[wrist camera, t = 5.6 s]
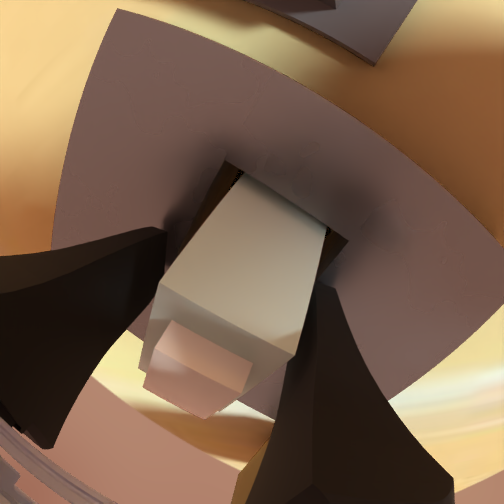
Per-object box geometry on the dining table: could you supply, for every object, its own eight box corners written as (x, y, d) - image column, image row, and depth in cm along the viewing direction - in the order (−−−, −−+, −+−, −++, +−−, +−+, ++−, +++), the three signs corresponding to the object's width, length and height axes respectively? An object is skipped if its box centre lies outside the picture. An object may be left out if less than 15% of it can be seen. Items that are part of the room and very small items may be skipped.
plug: (331, 205, 10) (284, 390, 5) (269, 288, 14) (210, 431, 9) (253, 161, 10) (137, 311, 5) (209, 255, 14) (126, 387, 9)
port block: (496, 240, 10) (531, 281, 7) (327, 397, 16) (319, 445, 13) (163, 21, 10) (111, 6, 7) (86, 241, 16) (45, 269, 13)
